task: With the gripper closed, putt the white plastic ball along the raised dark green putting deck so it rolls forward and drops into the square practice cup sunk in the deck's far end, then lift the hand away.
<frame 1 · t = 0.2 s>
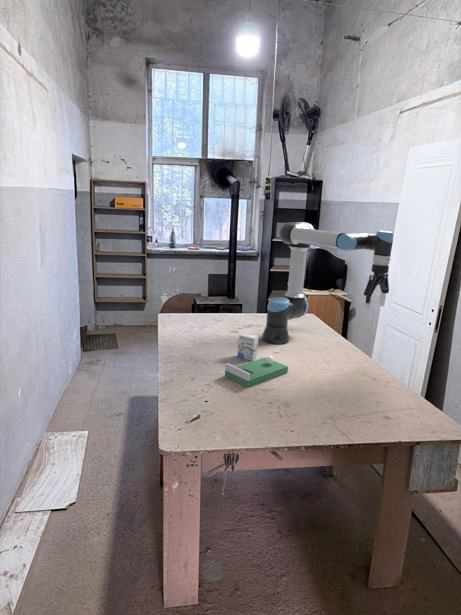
hand: (374, 307, 205), 28 cm above the table, fingers open, 13 cm apart
ink box: (246, 358, 208), on the table
ball: (269, 360, 193), point 5 cm above the table, touching putting deck
putting deck: (256, 374, 189), on the table
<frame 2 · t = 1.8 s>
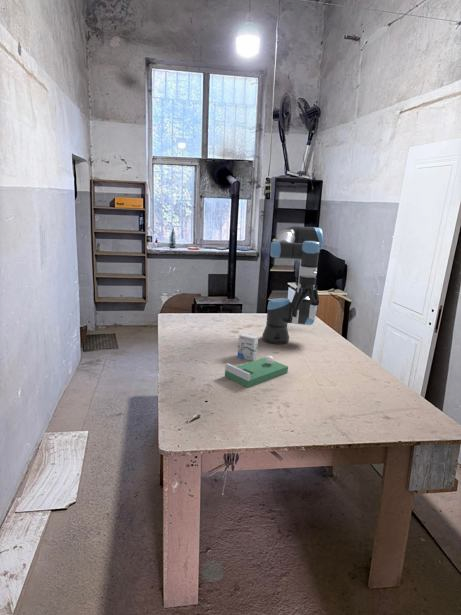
hand: (303, 321, 196), 22 cm above the table, fingers open, 13 cm apart
nothing on the table moved.
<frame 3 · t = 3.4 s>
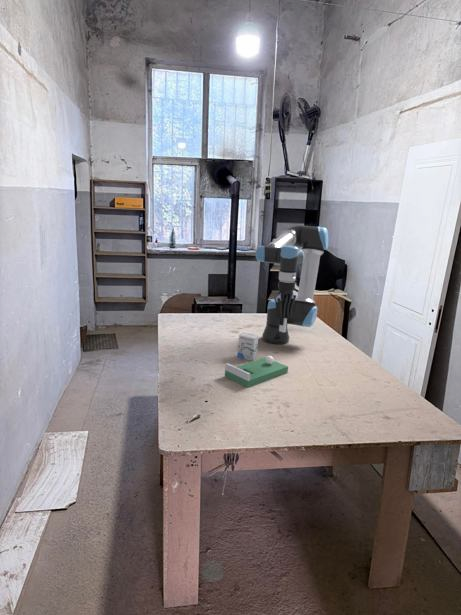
hand: (282, 331, 195), 17 cm above the table, fingers closed
nothing on the table moved.
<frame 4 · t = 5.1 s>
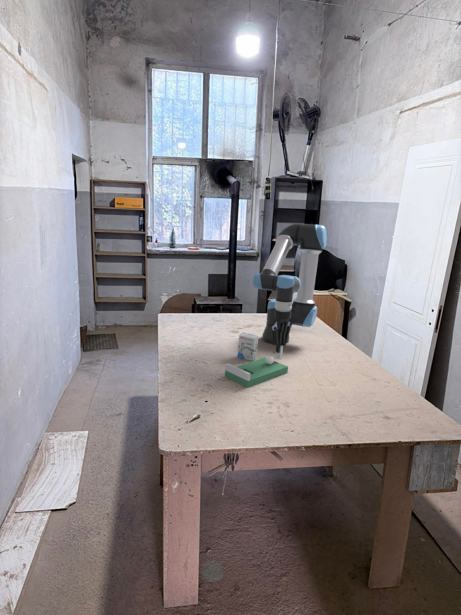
hand: (278, 358, 197), 4 cm above the table, fingers closed
nothing on the table moved.
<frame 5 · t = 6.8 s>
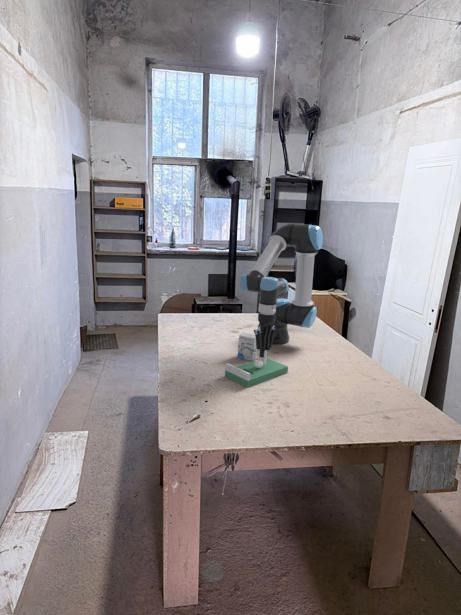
hand: (262, 363, 190), 4 cm above the table, fingers closed
ball: (258, 363, 188), point 5 cm above the table, tilted 148°, touching putting deck
everything else where it was.
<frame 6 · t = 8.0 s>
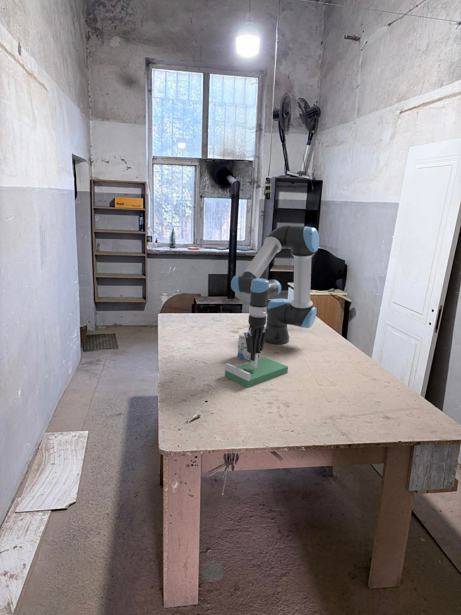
hand: (253, 366, 186), 4 cm above the table, fingers closed
ball: (243, 375, 182), point 2 cm above the table, tilted 147°
everything else where it was.
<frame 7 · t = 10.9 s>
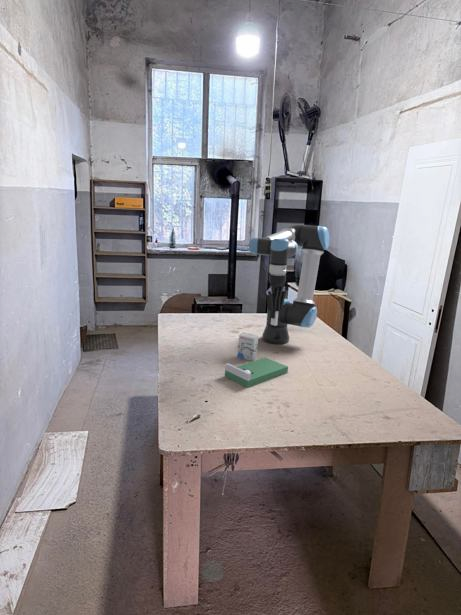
hand: (274, 324, 193), 21 cm above the table, fingers closed
ball: (246, 374, 183), point 2 cm above the table, tilted 95°
everything else where it was.
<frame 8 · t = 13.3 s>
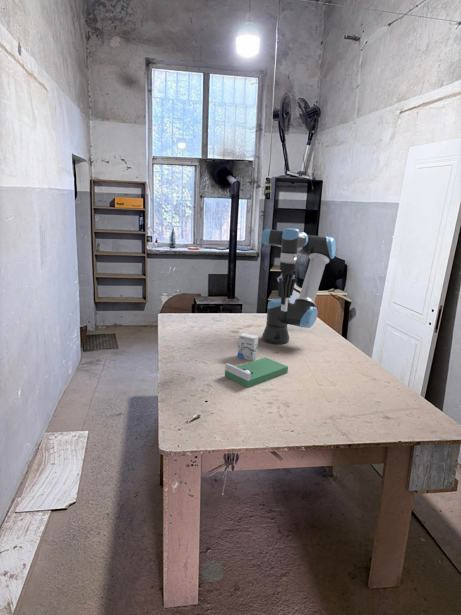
hand: (283, 310, 204), 24 cm above the table, fingers closed
nothing on the table moved.
at the end: ball 0.9 cm from the target spot on the putting deck, point 2.0 cm above the putting deck's base; the gripper is holding nothing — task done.
